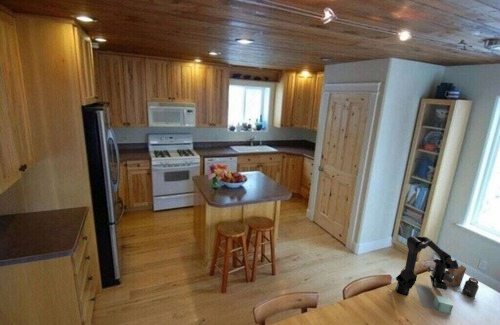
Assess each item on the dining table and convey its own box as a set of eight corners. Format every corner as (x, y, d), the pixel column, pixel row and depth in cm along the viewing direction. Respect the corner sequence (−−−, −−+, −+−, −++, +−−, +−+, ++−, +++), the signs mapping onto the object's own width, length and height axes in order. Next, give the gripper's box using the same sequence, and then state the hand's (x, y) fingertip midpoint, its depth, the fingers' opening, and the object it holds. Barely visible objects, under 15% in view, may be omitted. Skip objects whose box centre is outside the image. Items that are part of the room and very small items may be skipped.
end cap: (436, 310, 159) (439, 301, 157) (433, 303, 165) (436, 295, 163) (450, 313, 157) (453, 305, 155) (446, 306, 162) (449, 298, 161)
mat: (422, 307, 161) (422, 306, 161) (414, 284, 181) (414, 283, 180) (451, 314, 157) (451, 314, 157) (439, 291, 176) (439, 290, 176)
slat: (438, 305, 162) (439, 301, 161) (430, 290, 175) (432, 286, 174) (444, 307, 161) (446, 303, 160) (436, 292, 174) (438, 287, 173)
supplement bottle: (463, 296, 173) (469, 281, 170) (460, 289, 179) (465, 274, 176) (476, 300, 170) (482, 284, 167) (472, 292, 177) (477, 277, 173)
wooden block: (460, 285, 183) (468, 263, 178) (446, 285, 182) (454, 263, 177) (456, 281, 187) (463, 260, 182) (442, 282, 185) (449, 260, 180)
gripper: (460, 281, 161) (453, 302, 165) (448, 263, 178) (442, 282, 182) (439, 276, 164) (432, 296, 168) (429, 259, 181) (424, 278, 185)
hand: (433, 288), depth 176 cm, fingers closed
